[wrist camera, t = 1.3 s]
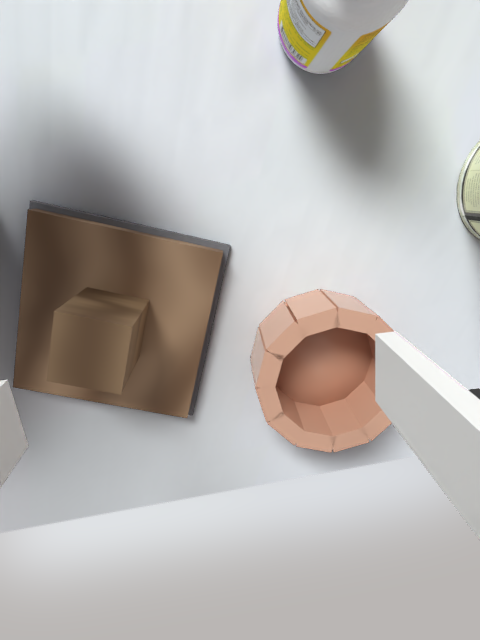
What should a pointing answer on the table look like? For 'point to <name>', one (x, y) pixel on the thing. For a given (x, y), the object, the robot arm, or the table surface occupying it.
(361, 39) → the supplement bottle
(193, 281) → the walnut lid
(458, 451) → the robot arm
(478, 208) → the coffee can
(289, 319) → the terracotta bowl
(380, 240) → the table surface
